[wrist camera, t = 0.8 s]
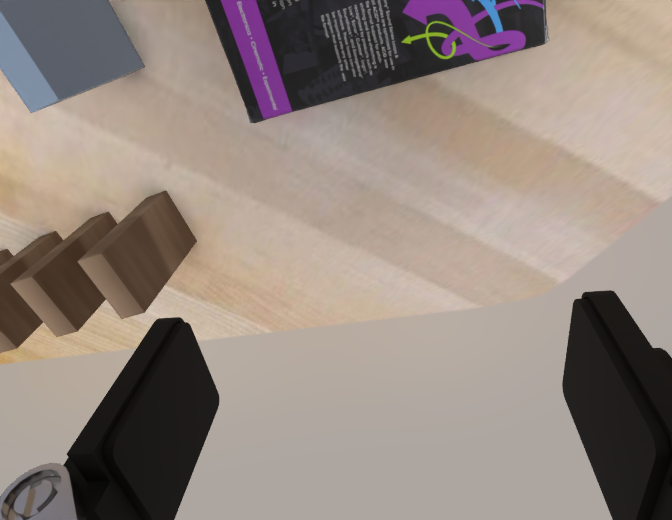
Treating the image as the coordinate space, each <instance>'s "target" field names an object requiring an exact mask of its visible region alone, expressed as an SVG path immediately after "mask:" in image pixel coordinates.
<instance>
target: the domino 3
mask: <svg viewBox="0 0 672 520" xmlns="http://www.w3.org/2000/svg"><path fill="white" fill-rule="evenodd" d="M116 225H117V223H116V222H115V220H114V219H113V217H112V216H111V214H110V213H109V212H107V213H104V214H101V215H98V216H96V217H93V218H90V219H89V220H88V221H87V222H86V223H84V224H83V225H82V226H81V227H79V228H78V229H77V230H76V231H75V232H73V233H72V234H71V235H70V236H68V237H67V238H66V239H65V240H63V241H62V242H61V243H60V244H59V245H57V246H56V247H55V248H54V249H52V250H51V251H50V252H49V253H48V254H46V255H45V256H44V257H43V258H41V259H40V260H39V261H38V262H36V263H35V264H34V265H33V266H32V267H30V268H29V269H28V270H27V271H25V272H24V273H23V274H22V275H21V276H19V277H18V278H17V279H16V280H14V281H13V282H12V283H11V285H12V286H13V288H14V289H15V290H16V291H17V292H18V293H19V294H20V296H21V297H22V298H23V299H24V300H25V301H26V302H27V304H28V305H29V306H30V307H31V308H32V309H33V311H34V312H35V313H36V314H37V315H38V316H39V317H40V319H41V320H42V321H43V322H44V323H45V324H46V325H47V327H48V328H49V329H50V330H51V331H52V332H53V333H54V335H55V336H56V337H59V336H63V335H66V334H70V333H73V332H77V331H78V330H79V329H80V328H81V327H82V326H83V325H84V323H85V322H86V321H87V320H88V319H89V318H90V317H91V315H92V314H93V313H94V312H95V311H96V310H97V309H98V308H99V306H100V305H101V304H102V303H103V302H104V301H105V300H106V298H105V297H104V296H103V294H102V293H101V292H100V290H99V289H98V288H97V286H96V285H95V284H94V283H93V281H92V280H91V279H90V277H89V276H88V275H87V273H86V272H85V271H84V270H83V268H82V267H81V266H80V264H79V263H78V262H77V261H78V260H79V259H81V258H82V257H83V256H84V255H85V254H86V253H87V252H88V251H89V250H90V249H91V248H93V247H94V246H95V245H96V244H97V243H98V242H99V241H100V240H101V239H102V238H103V237H104V236H106V235H107V234H108V233H109V232H110V231H111V230H112V229H113V228H114V227H115V226H116Z"/></svg>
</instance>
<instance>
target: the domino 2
mask: <svg viewBox="0 0 672 520" xmlns="http://www.w3.org/2000/svg"><path fill="white" fill-rule="evenodd" d="M143 67H145V66H144V64H143V62H142V61H141V59H140V57H139V55H138V53H137V52H136V50H135V48H134V46H133V44H132V42H131V41H130V39H129V37H128V35H127V33H126V32H125V30H124V28H123V26H122V24H121V23H120V21H119V19H118V17H117V15H116V14H115V12H114V10H113V8H112V6H111V5H110V3H109V1H108V0H0V69H1V71H2V72H3V73H4V75H5V76H6V78H7V79H8V81H9V82H10V83H11V85H12V86H13V88H14V89H15V91H16V92H17V93H18V95H19V96H20V98H21V99H22V101H23V102H24V103H25V105H26V106H27V108H28V109H29V111H30V112H31V113H33V112H35V111H38V110H40V109H43V108H45V107H48V106H50V105H53V104H55V103H58V102H60V101H63V100H66V99H68V98H71V97H73V96H76V95H78V94H81V93H83V92H86V91H88V90H91V89H93V88H96V87H98V86H101V85H103V84H106V83H109V82H111V81H114V80H116V79H119V78H121V77H124V76H126V75H128V74H130V73H132V72H134V71H136V70H139V69H141V68H143Z"/></svg>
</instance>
